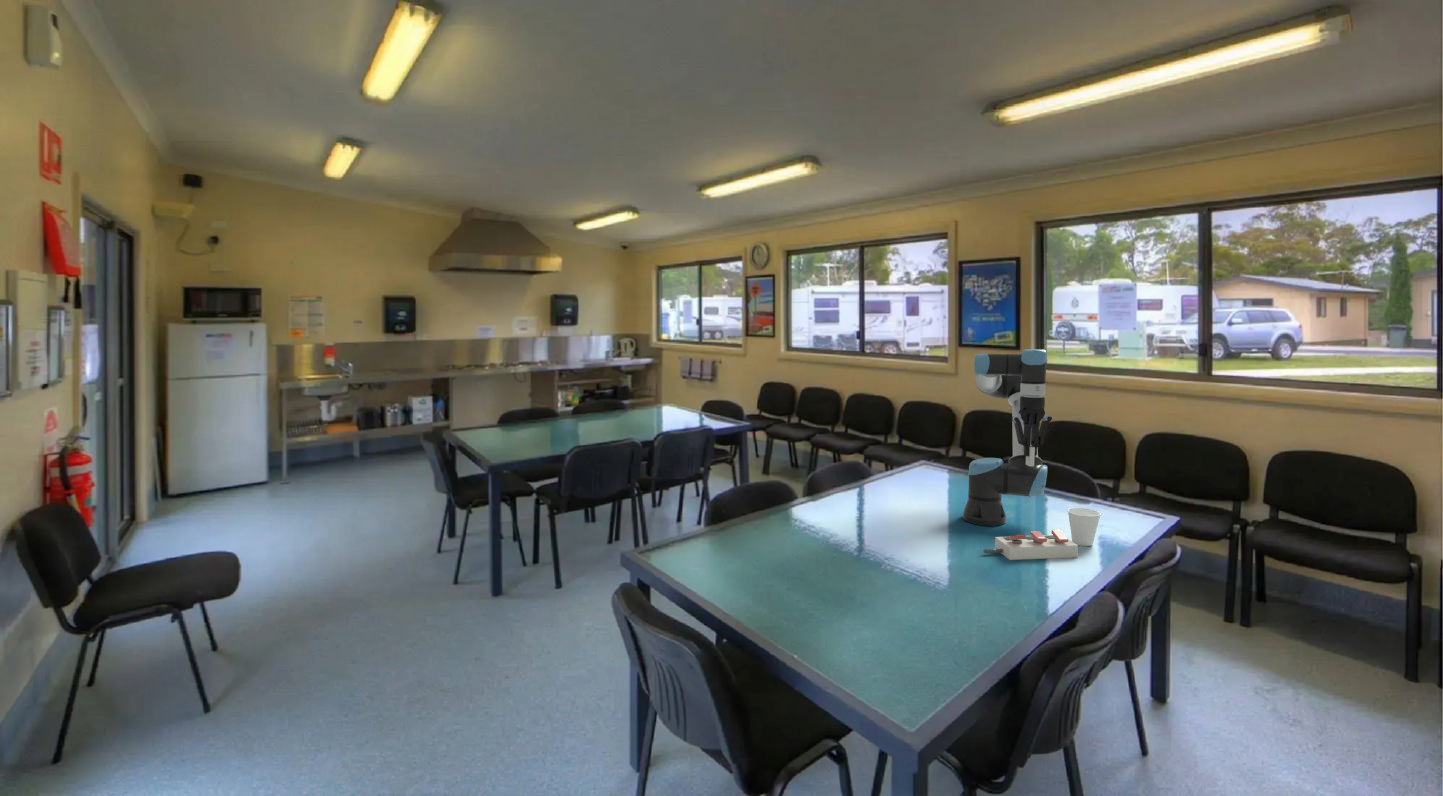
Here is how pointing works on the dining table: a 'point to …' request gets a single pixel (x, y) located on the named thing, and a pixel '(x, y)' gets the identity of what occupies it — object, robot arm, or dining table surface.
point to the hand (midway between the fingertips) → (1029, 465)
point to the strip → (1033, 548)
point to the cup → (1083, 525)
